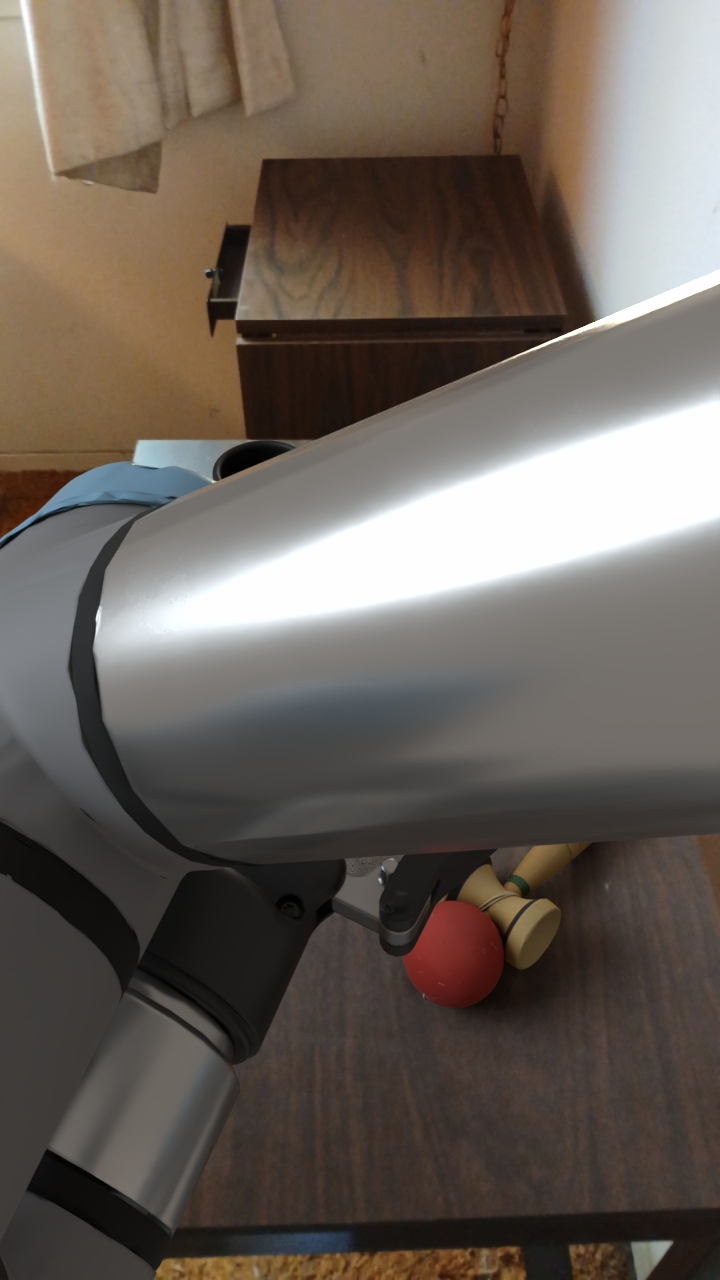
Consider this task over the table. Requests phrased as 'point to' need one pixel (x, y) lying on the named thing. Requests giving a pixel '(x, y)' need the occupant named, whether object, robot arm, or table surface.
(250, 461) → the mug
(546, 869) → the kendama
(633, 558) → the robot arm
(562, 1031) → the table surface
